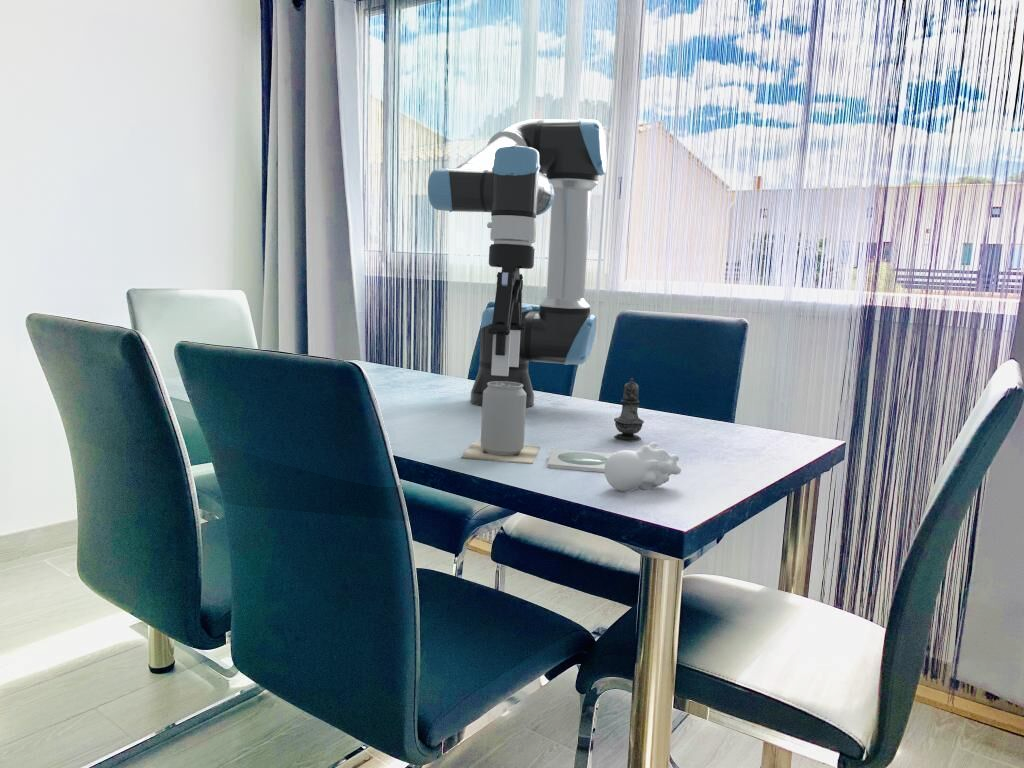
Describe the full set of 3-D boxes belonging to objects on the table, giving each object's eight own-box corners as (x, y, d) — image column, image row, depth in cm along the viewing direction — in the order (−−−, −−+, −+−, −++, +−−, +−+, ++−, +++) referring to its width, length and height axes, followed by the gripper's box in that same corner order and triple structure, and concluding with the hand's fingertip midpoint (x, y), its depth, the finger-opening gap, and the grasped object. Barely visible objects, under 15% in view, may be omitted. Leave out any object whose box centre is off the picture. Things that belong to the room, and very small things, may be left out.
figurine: (589, 466, 113) (652, 455, 119) (606, 506, 110) (670, 493, 116) (609, 443, 108) (674, 433, 114) (628, 484, 105) (693, 471, 111)
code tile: (473, 442, 136) (474, 441, 136) (539, 447, 135) (539, 446, 135) (461, 458, 125) (461, 456, 125) (532, 464, 123) (532, 462, 123)
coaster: (552, 451, 132) (552, 448, 132) (615, 457, 131) (615, 453, 131) (547, 467, 121) (547, 463, 121) (615, 473, 120) (615, 469, 120)
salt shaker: (606, 437, 147) (610, 376, 145) (623, 433, 151) (628, 374, 149) (631, 443, 143) (636, 380, 141) (648, 439, 147) (653, 378, 145)
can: (519, 458, 125) (522, 387, 124) (475, 454, 127) (478, 384, 125) (527, 448, 133) (530, 381, 131) (485, 444, 134) (489, 378, 132)
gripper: (500, 246, 137) (494, 362, 140) (476, 238, 113) (470, 378, 116) (541, 248, 136) (534, 364, 139) (526, 240, 112) (518, 381, 115)
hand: (505, 371), depth 127 cm, fingers open, 13 cm apart
